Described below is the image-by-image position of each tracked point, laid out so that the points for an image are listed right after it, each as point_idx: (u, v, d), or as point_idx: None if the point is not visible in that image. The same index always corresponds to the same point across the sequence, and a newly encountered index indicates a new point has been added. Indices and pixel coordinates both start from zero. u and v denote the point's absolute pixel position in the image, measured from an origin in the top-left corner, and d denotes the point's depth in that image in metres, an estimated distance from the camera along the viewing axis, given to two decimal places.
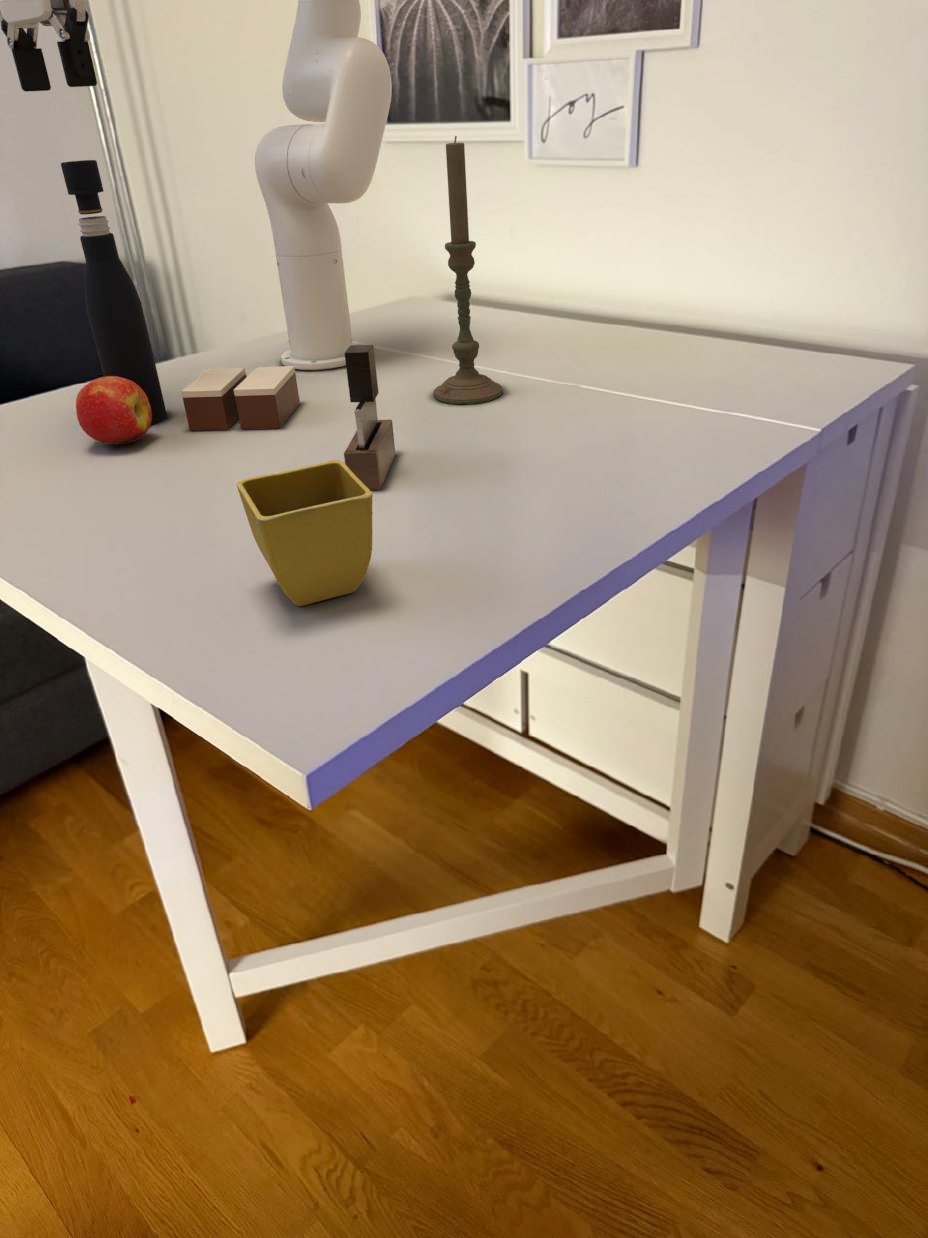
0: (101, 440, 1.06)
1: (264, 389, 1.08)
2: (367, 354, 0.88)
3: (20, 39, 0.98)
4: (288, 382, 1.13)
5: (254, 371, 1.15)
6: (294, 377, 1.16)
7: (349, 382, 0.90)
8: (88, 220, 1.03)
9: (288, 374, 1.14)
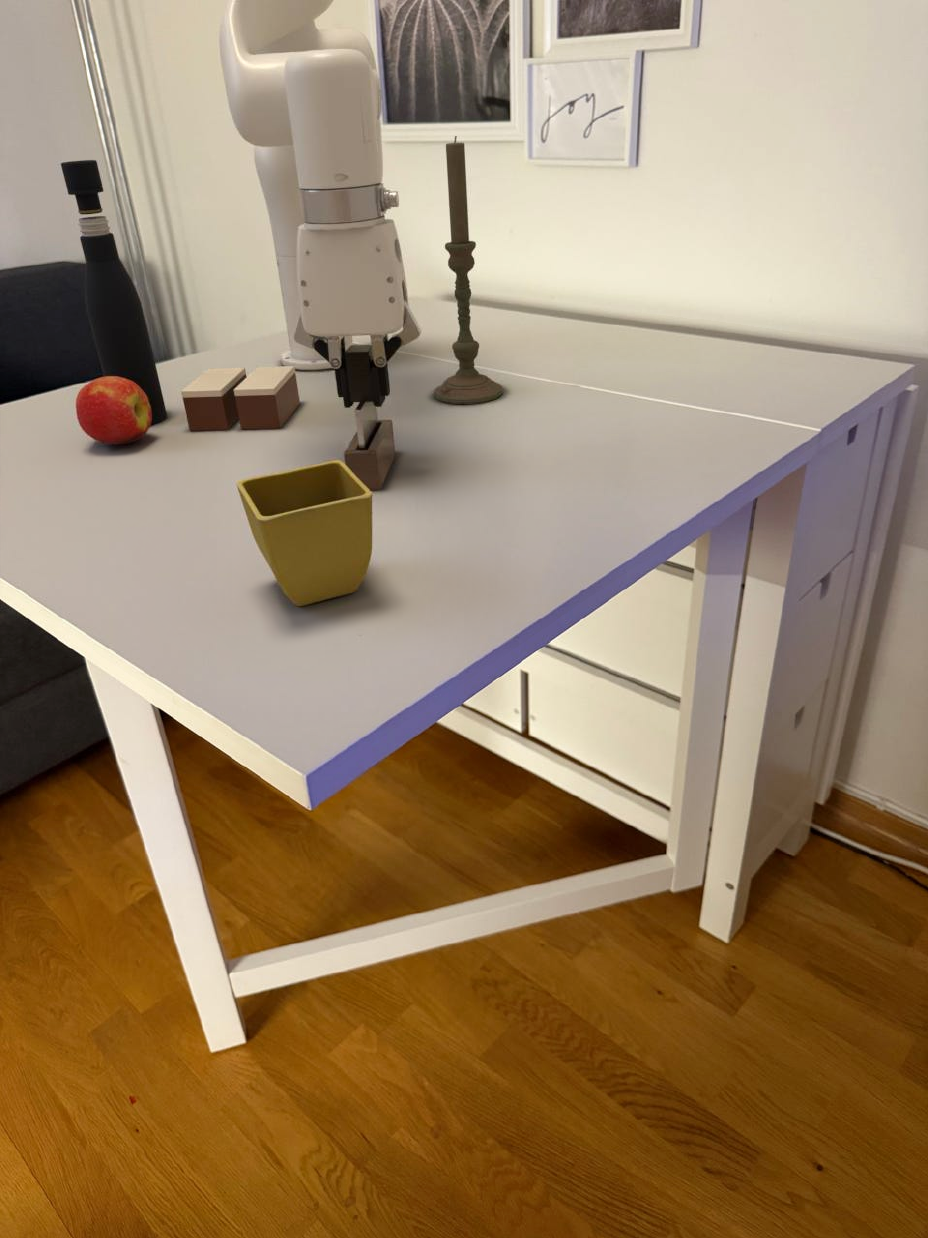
0: (101, 440, 1.06)
1: (264, 389, 1.08)
2: (367, 354, 0.88)
3: (343, 358, 0.90)
4: (288, 382, 1.13)
5: (254, 371, 1.15)
6: (294, 377, 1.16)
7: (349, 382, 0.90)
8: (88, 220, 1.03)
9: (288, 374, 1.14)
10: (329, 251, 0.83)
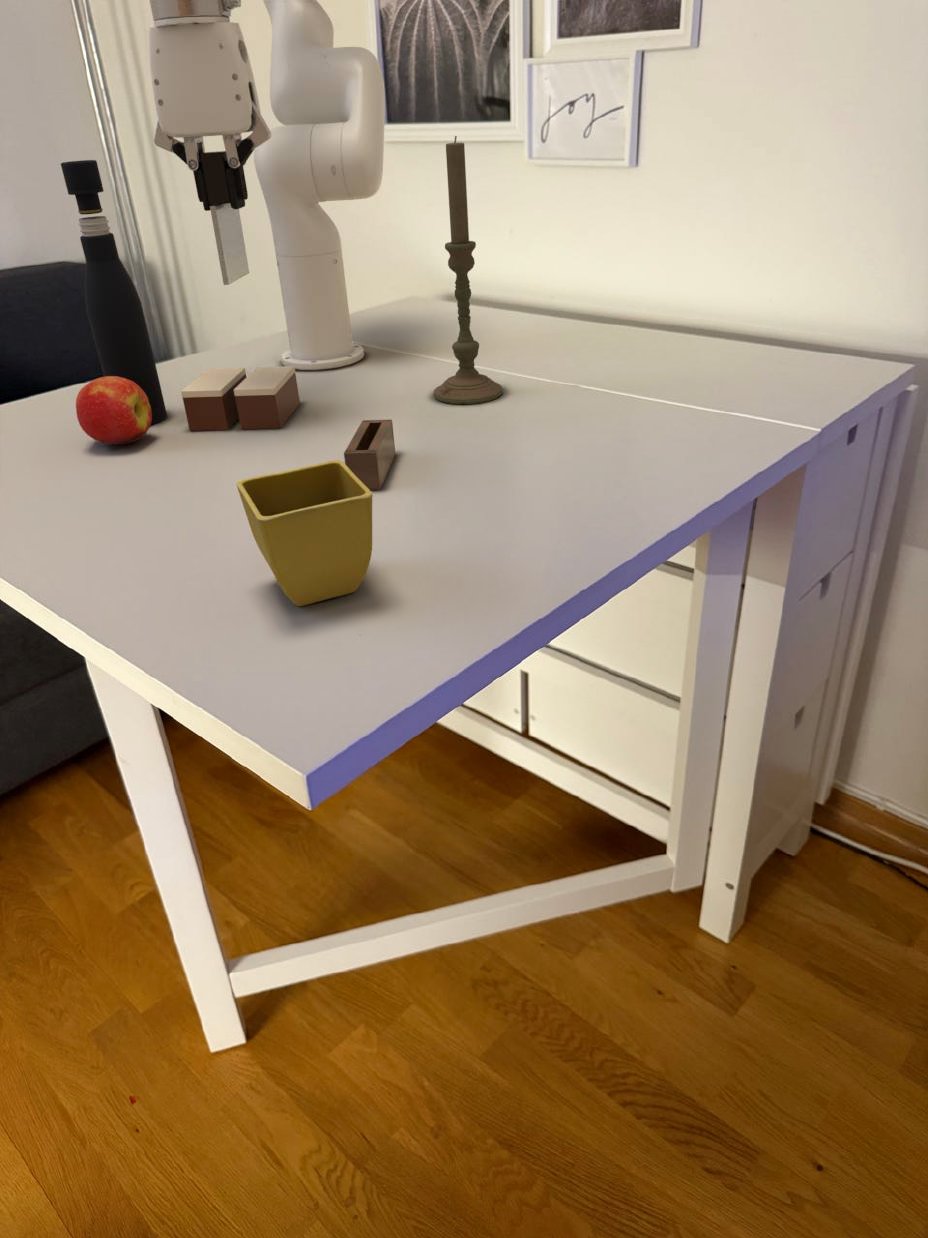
0: (101, 440, 1.06)
1: (264, 389, 1.08)
2: (221, 154, 0.96)
3: (201, 161, 0.97)
4: (288, 382, 1.13)
5: (254, 371, 1.15)
6: (294, 377, 1.16)
7: (206, 183, 0.97)
8: (88, 220, 1.03)
9: (288, 374, 1.14)
10: (177, 48, 0.90)
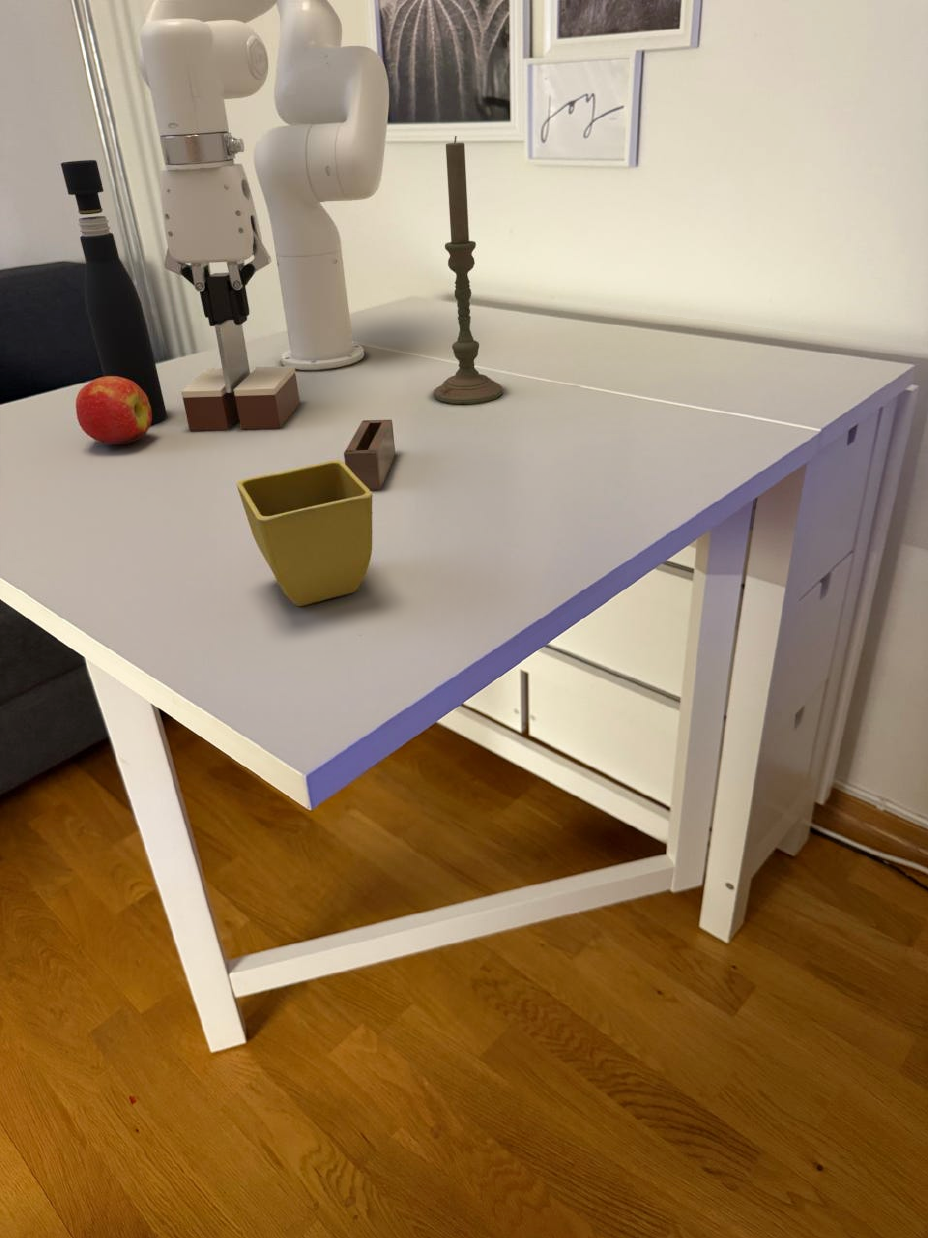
0: (101, 440, 1.06)
1: (264, 389, 1.08)
2: (225, 278, 1.05)
3: None
4: (288, 382, 1.13)
5: (254, 371, 1.15)
6: (294, 377, 1.16)
7: (212, 303, 1.06)
8: (88, 220, 1.03)
9: (288, 374, 1.14)
10: (186, 188, 0.99)
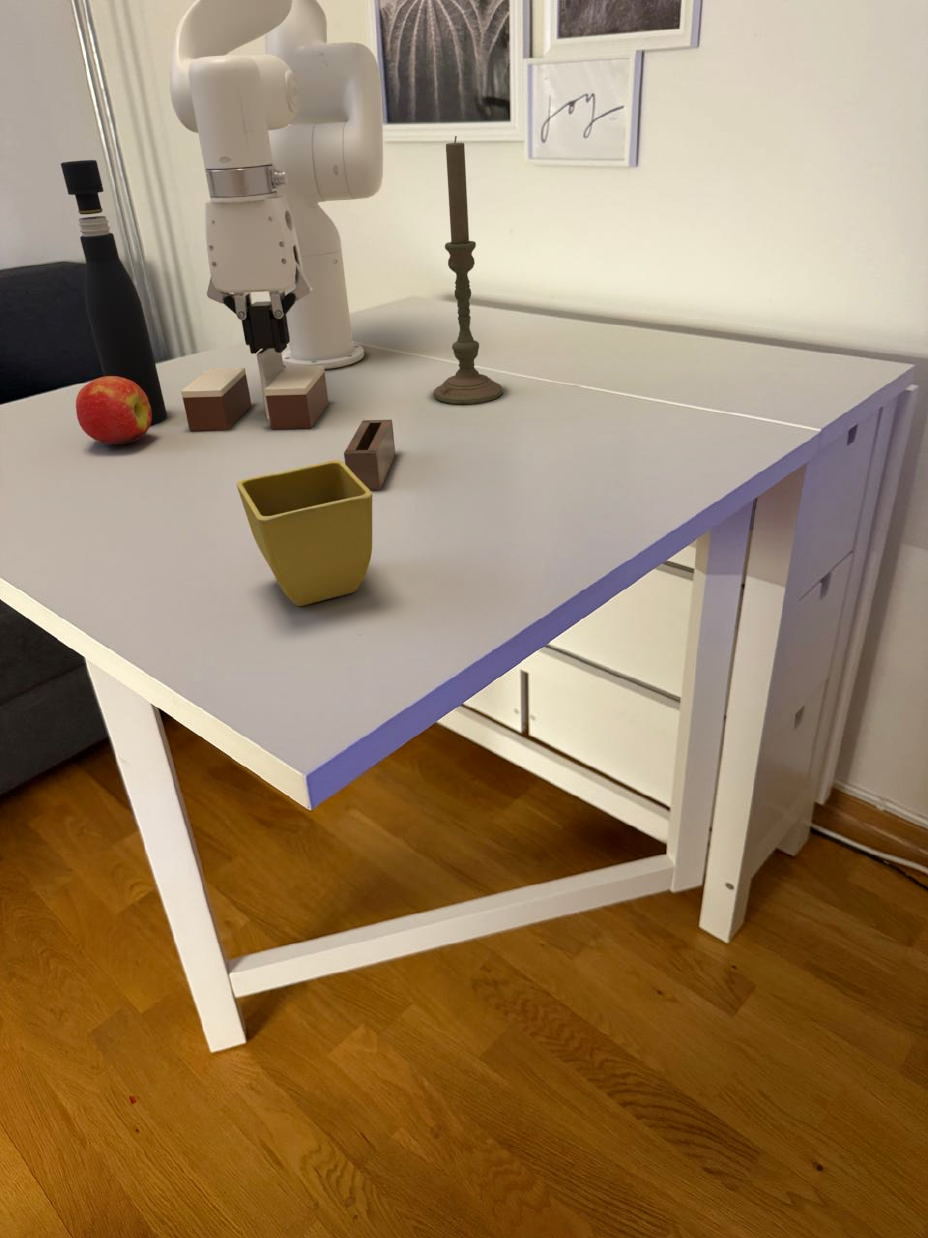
0: (101, 440, 1.06)
1: (295, 389, 1.07)
2: (267, 307, 1.06)
3: (248, 311, 1.08)
4: (318, 381, 1.13)
5: (283, 371, 1.14)
6: (324, 376, 1.16)
7: (253, 331, 1.08)
8: (88, 220, 1.03)
9: (318, 374, 1.13)
10: (230, 220, 1.01)
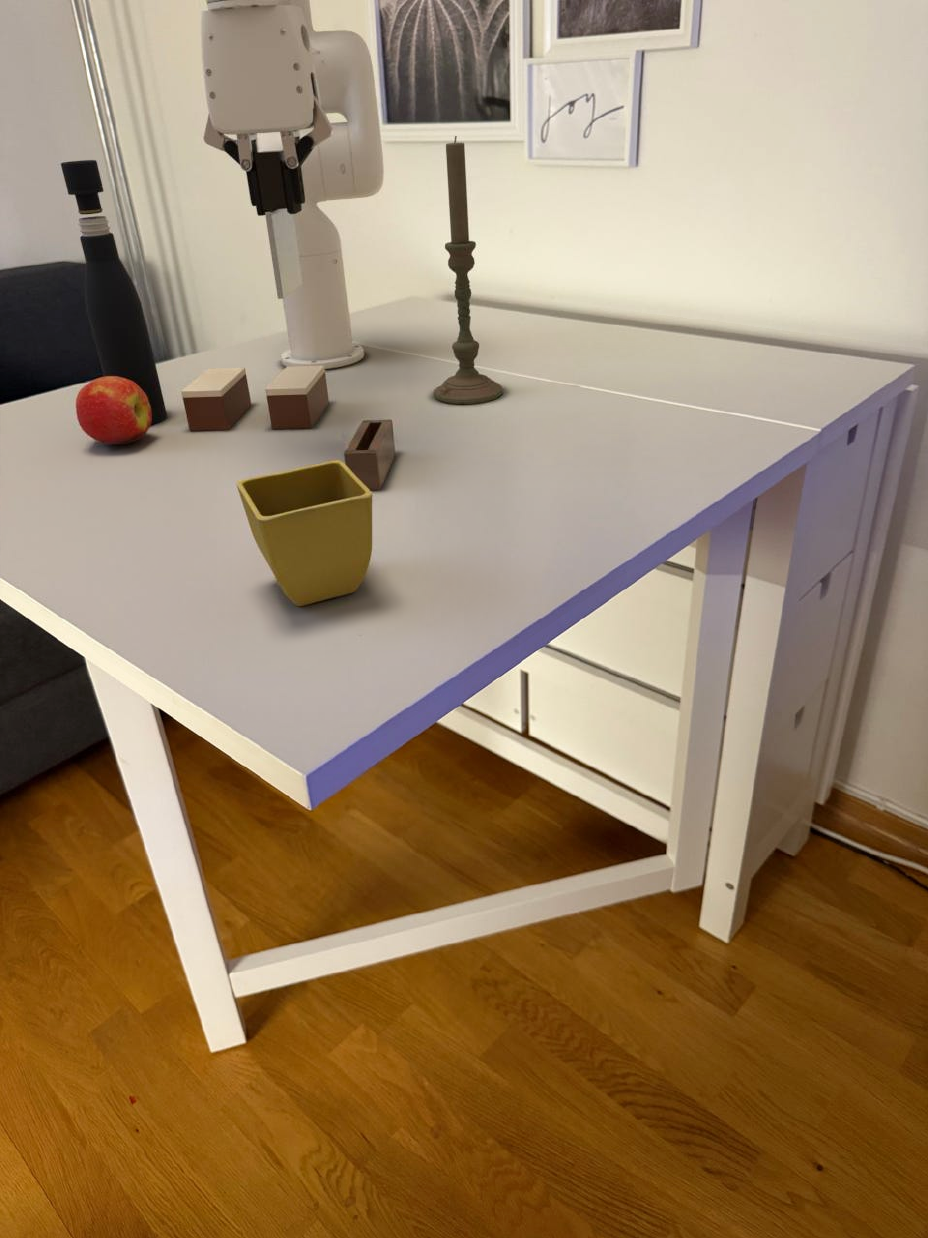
0: (101, 440, 1.06)
1: (296, 389, 1.07)
2: (277, 154, 0.86)
3: (255, 161, 0.87)
4: (318, 381, 1.13)
5: (284, 370, 1.14)
6: (324, 376, 1.16)
7: (261, 186, 0.87)
8: (88, 220, 1.03)
9: (318, 373, 1.13)
10: (233, 34, 0.80)
